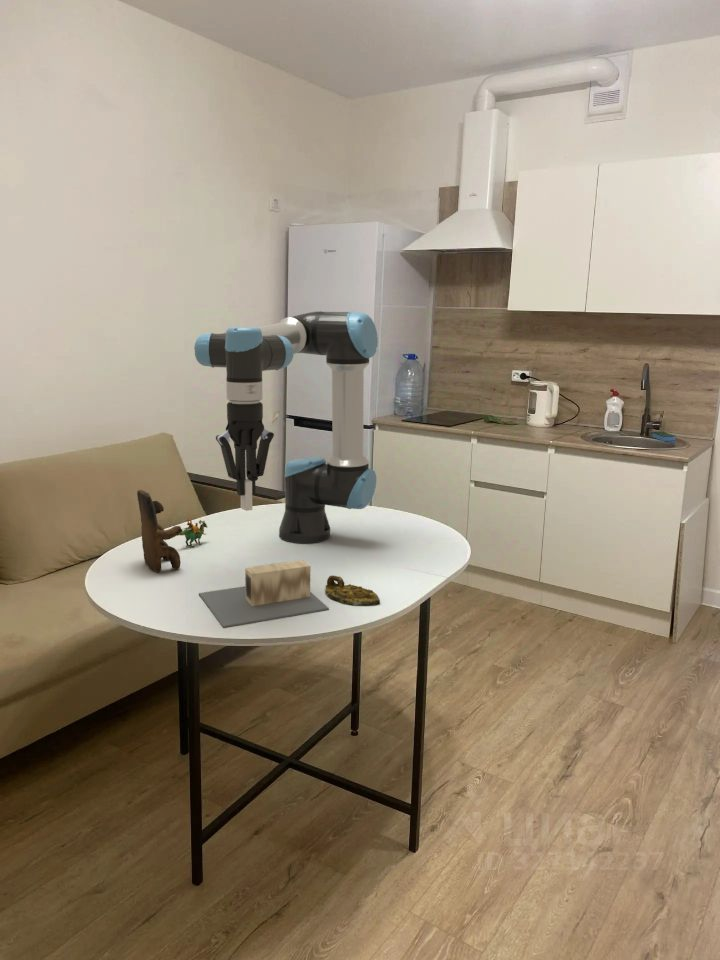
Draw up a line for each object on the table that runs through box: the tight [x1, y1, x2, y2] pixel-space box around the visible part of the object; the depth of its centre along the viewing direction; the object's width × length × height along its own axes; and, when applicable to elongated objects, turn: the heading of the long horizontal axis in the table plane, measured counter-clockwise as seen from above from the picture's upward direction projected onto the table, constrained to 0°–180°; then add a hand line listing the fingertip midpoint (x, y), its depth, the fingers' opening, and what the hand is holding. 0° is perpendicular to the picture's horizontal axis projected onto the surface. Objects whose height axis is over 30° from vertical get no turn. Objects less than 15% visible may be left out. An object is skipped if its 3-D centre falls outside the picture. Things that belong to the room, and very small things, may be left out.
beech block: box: [244, 559, 311, 606], centre depth 166 cm, size 8×4×14 cm
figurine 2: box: [176, 518, 208, 548], centre depth 202 cm, size 3×12×8 cm, turn 143°
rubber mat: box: [198, 586, 330, 629], centre depth 165 cm, size 24×20×1 cm
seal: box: [324, 575, 381, 607], centre depth 169 cm, size 9×5×15 cm
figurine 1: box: [136, 489, 183, 573], centre depth 184 cm, size 13×8×20 cm, turn 37°
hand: (246, 508), depth 159 cm, fingers closed
